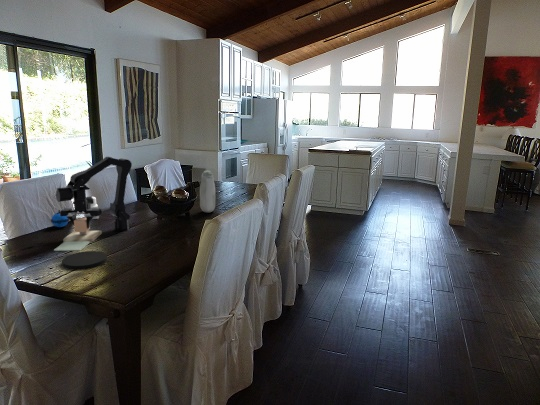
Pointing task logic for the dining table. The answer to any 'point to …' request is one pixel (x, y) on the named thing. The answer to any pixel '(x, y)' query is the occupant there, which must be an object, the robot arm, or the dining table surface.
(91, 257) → the wireless charger
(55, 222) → the ornament
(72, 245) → the mat
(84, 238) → the post base
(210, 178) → the white tall cylinder
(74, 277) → the dining table surface
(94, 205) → the container
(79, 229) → the salmon pink cube
